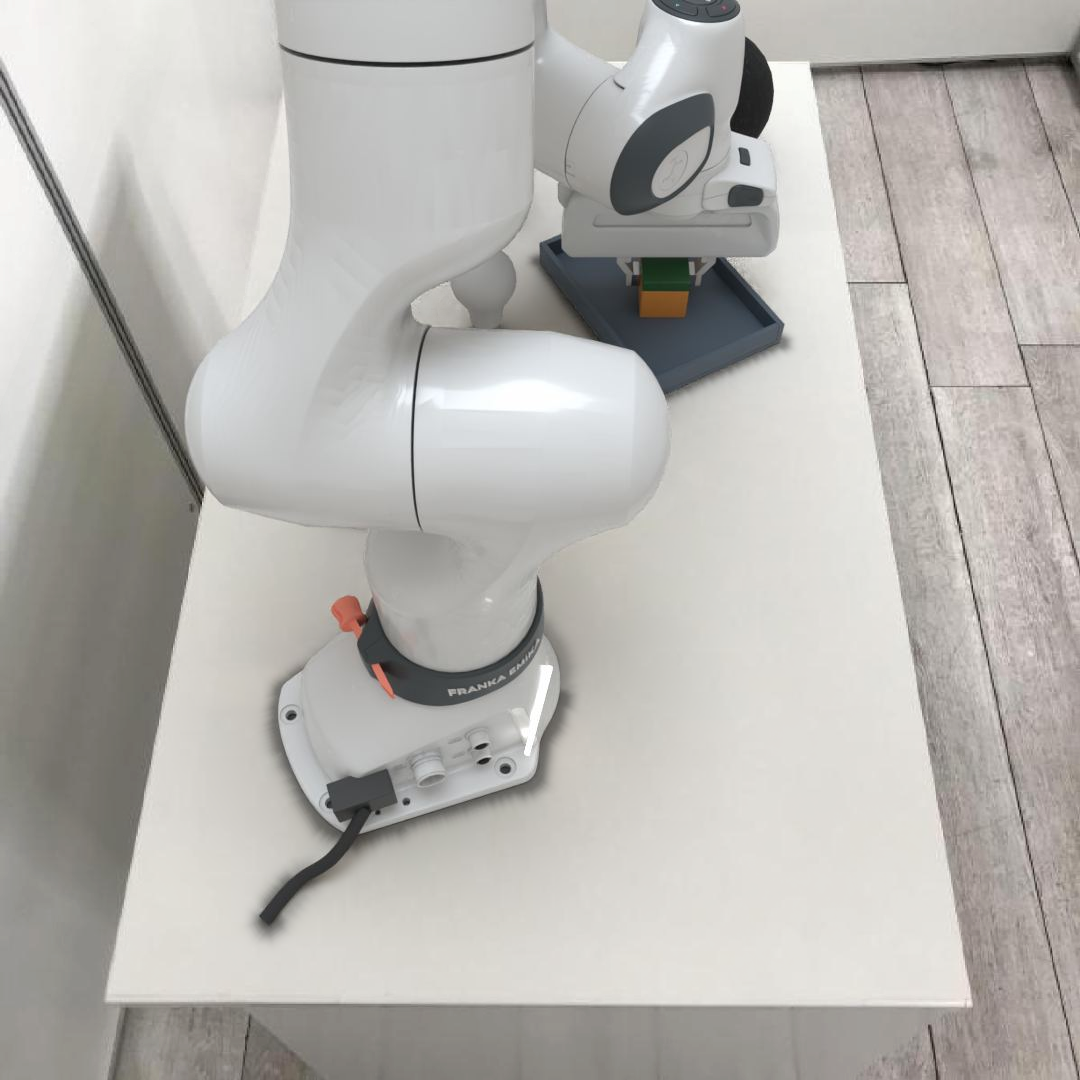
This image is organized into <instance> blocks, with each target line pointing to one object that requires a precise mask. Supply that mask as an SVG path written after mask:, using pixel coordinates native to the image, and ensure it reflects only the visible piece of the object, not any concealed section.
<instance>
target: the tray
mask: <svg viewBox="0 0 1080 1080" xmlns="http://www.w3.org/2000/svg"><path fill="white" fill-rule="evenodd" d="M561 234H562V233H560V234H558V235H555V236H552V237H550V238H547V239H545V240H543V241H540V242H539V243H538V245H539V248H538V249H539V252H538V253H539V263H540V265H542V267H543V268H544V269H545V271H546V272H547V273H548V274H549V277H551V278H552V280H553V281H554V282H555V284H556V285H557V287H558V288H559V289H560V290H561V291H562V293H563V294H564V295H565V297H566V298H567V299H568V300H569V302H570V303H571V304H572V306H573V307H574V308H575V310H576V311H577V312H578V314H579V315H580V316H581V317H582V319H583V321H585V323H586V324H587V325H588V326H589V328H590V329H591V331H592V332H593V333H594V334H595V336H596V337H597V339H598V340H599V342H602V343H606V344H610V345H614V346H618V347H622V348H625V349H629V350H633V351H635V352H636V353H637V354H638V355H639V356H640V357H641V358H642V359H643V360H644V362H645V363H646V364H647V365H648V367H649V368H650V369H651V371H652V372H653V374H654V376H655V377H656V379H657V380H658V382H659V385H660V387H661V389H662V391H663V393H664V395H667V394H669V393H671V392H673V391H675V390H677V389H680V388H682V387H684V386H686V385H689V384H691V383H693V382H696V381H697V380H700V379H702V378H704V377H706V376H708V375H711V374H713V373H715V372H718V371H719V370H722V369H723V368H726V367H728V366H730V365H733V364H735V363H737V362H739V361H741V360H744V359H746V358H749V357H751V356H752V355H755V354H758V353H759V352H761V351H764V350H765V349H768V348H770V347H772V346H775V345H778V344H779V343H780V342H781V339H782V336H783V332H784V328H785V322H783V320H781V318H780V317H779V316H778V315H777V314H776V313H775V312H774V310H773V309H772V308H771V306H769V305H768V303H766V301H765V300H764V299H763V298H762V297H761V296H760V294H759V293H757V291H756V290H755V289H754V288H753V287H752V286H751V284H749V283H748V281H747V280H746V279H745V278H744V277H743V276H742V275H741V273H740V272H739V271H738V270H737V269H736V268H735V266H734V265H733V264H731V262H730V261H729V260H728V259H727V257H716V262H715V264H714V265H713V266H712V267H710V268H709V269H708V270H707V271H706V272H705V273H704V274H703V275H702V276H701V283H700V286H690V288H689V294H688V301H687V308H686V315H685V317H684V318H668V317H640V316H639V291H638V286H626V274H625V273H624V272H623V270H622V269H621V268H620V267H619V265H618V264H617V258H616V257H570V256H568V255H567V254H566V253H565V252H564V251H563V249H562V243H561ZM696 258H697V257H688V259H689V262H694V261H695V259H696ZM631 259H632V260H633V262H638V257H631Z"/></svg>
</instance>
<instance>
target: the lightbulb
mask: <svg viewBox="0 0 1080 1080" xmlns="http://www.w3.org/2000/svg"><path fill="white" fill-rule="evenodd" d="M449 283H450V288H451V291H452V293H453V295H454V297H455V299H456V300H457V301H458V302H459V303H460V304H461V305H462V306H463V307H464V308H465V309H466V311H467V312H468V315H469V319H470V323H471V324H472V328H478V329H501V323H502V321H503V316H504V315H503V313H504V309H505V306H506V305H507V304H508V303H509V301H510V300H511V298H512V297H513V294H514V292H515V291H516V286H517V271H516V268H515V265H514V263H513V261H512V259H511V258H510V257H509V255H507V253H505V252H504V251H503V250H502V251H500V252H499V253H498V254H497V255H495V256H494V257H493V258H491V259H490V260H488V261H487V262H485V263H484V264H482V265H480V266H479V267H477V268H475V269H473V270H472V271H470V272H468V273H466V274H463V275H461V276H459V277H457V278H454V279H452V280H450V281H449Z"/></svg>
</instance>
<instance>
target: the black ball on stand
mask: <svg viewBox="0 0 1080 1080" xmlns="http://www.w3.org/2000/svg"><path fill="white" fill-rule="evenodd" d="M774 86H775V85H774V80H773V72H772V70H771V68H770V65H769V62H768V61H767V58H766V56H765V55H764V53H763V52H762V51H761V49H760V48H759V47H758V45H757V44H756V43H755V42H754V41H753V40H751V39H750V38H748V37H747V36H746V35H745V51H744V64H743V73H742V81H741V87H740V93H739V99H738V104H737V106H736V109H735V111H734V113H733V115H732V117H731V120H730V128H731V131H733V132H735V133H739V134H742V135H745V136H749V137H752V138H756V139H759V138H760V136H761V135H762V133H763V131H764V129H765V128H766V125H767V124H768V122H769V120H770V116H771V114H772V111H773V110H772V109H773V105H774V99H775V98H774V97H775V87H774Z"/></svg>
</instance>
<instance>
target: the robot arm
mask: <svg viewBox="0 0 1080 1080" xmlns="http://www.w3.org/2000/svg"><path fill="white" fill-rule="evenodd" d="M547 5H548V3H547V0H273V6H274V16H275V17H274V18H275V27H276V36H277V37H276V38H277V41H278V44H277V45H278V53H279V54H278V55H279V62H280V63H279V64H280V70H281V80H282V88H283V89H282V90H283V98H284V109H285V119H286V120H285V121H286V132H287V133H286V135H287V149H288V151H287V152H288V165H289V199H290V202H289V207H290V208H289V220H288V221H289V222H288V229H287V235H286V241H285V246H284V250H283V254H282V257H281V260H280V264H279V266H278V269H277V271H276V273H275V275H274V278H273V279H272V282H271V284H270V286H269V287H268V289H267V290H266V292H265V294H264V296H263V297H262V299H261V300H260V301H259V303H258V304H257V305H256V307H255V308H254V309H253V310H252V311H251V312H250V313H249V315H248V316H247V317H246V318H245V319H244V320H243V321H242V322H240V324H238V325H237V326H236V327H234V328H233V329H232V330H230V331H229V332H228V333H226V334H225V335H223V336H222V337H221V338H220V339H219V340H218V341H217V342H216V343H215V344H214V345H212V347H211V348H210V349H209V351H208V352H207V353H206V355H205V356H204V357H203V359H202V360H201V361H200V363H199V364H198V367H197V369H196V370H195V372H194V375H193V376H192V379H191V382H190V385H189V387H188V391H187V394H186V398H185V399H186V400H185V404H184V405H185V406H184V407H185V408H184V414H183V415H184V418H183V424H184V425H183V426H184V435H185V442H186V446H187V450H188V453H189V456H190V460H191V462H192V465H193V466H194V469H195V471H196V473H197V475H198V476H199V479H200V480H201V482H202V483H203V484H204V486H205V487H206V488H207V490H208V491H209V493H210V494H211V495H212V496H213V497H214V498H215V499H216V500H217V501H218V502H219V503H220V504H221V505H222V506H224V507H226V508H230V509H233V510H236V511H237V510H238V511H241V512H244V513H248V514H251V515H255V516H259V517H263V518H267V519H272V520H276V521H280V522H285V523H288V524H289V523H290V524H293V525H298V526H302V527H308V528H309V527H310V528H329V529H330V528H332V529H333V528H334V529H351V530H352V529H353V530H355V529H356V530H368V531H367V534H366V535H365V536H366V537H365V539H364V546H363V555H362V556H363V557H362V558H363V559H362V560H363V567H364V573H365V577H366V581H367V584H368V587H369V590H370V593H371V597H370V601H369V603H368V606H367V608H365V610H364V611H363V610H362V608H361V604H360V602H359V599H358V598H357V596H356V595H345V596H342V597H340V598H338V599H337V600H335V601H334V602H333V604H332V605H331V606H330V612H331V614H332V615H333V617H334V618H335V620H336V621H337V622H338V625H339V629H340V632H338V634H337V635H335V636H334V637H333V638H332V639H330V641H328V642H327V643H326V644H325V645H324V646H323V647H321V649H319V650H318V651H317V652H316V653H315V654H313V656H311V658H309V660H307V662H306V664H305V665H304V666H303V669H302V670H300V671H299V672H298V673H296V674H295V675H294V676H292V677H291V678H290V679H288V680H287V681H285V682H284V684H283V685H282V686H281V690H280V694H279V698H278V707H277V718H278V725H279V726H278V727H279V733H280V737H281V741H282V744H283V748H284V752H285V754H286V757H287V759H288V762H289V765H290V767H291V770H292V772H293V774H294V776H295V778H296V780H297V782H298V785H299V786H300V788H301V790H302V791H303V793H304V795H305V797H306V798H307V799H308V801H309V803H310V804H311V805H312V807H313V808H314V809H315V810H316V812H317V813H318V814H319V815H320V816H321V817H322V818H323V820H325V821H326V822H327V823H329V824H330V825H331V826H332V827H334V828H336V829H337V830H339V831H340V832H342V835H341V836H340V838H338V840H337V842H336V843H335V845H333V846H332V848H331V849H330V850H329V851H328V852H327V853H326V854H325V855H324V856H323V857H321V858H319V859H318V860H316V861H315V862H314V863H311V864H310V865H308V866H306V867H305V868H302V869H301V870H300V871H298V872H297V873H296V874H294V875H293V876H292V877H291V878H290V879H289V880H288V881H287V882H286V883H285V884H284V885H283V886H282V887H281V888H280V890H278V891H277V892H276V894H275V895H274V897H273V898H272V899H271V900H270V901H269V903H268V904H267V905H266V906H265V907H264V909H263V910H262V911H261V912H260V913H259V915H258V917H259V918H260V919H261V920H262V921H263V922H265V923H266V924H267V925H270V924H271V923H272V922H273V920H275V919H276V917H277V915H278V914H279V913H280V912H281V910H282V909H283V908H284V906H286V905H287V903H288V902H289V901H290V899H291V898H292V897H293V896H294V895H295V894H297V892H298V891H299V890H300V889H302V887H304V886H305V885H306V884H307V883H308V882H310V881H312V880H314V879H315V878H317V877H319V876H321V875H323V874H324V873H326V872H327V871H329V870H330V869H332V868H333V867H334V866H335V865H336V864H337V863H339V862H340V860H342V859H343V857H344V856H345V855H346V854H347V853H348V851H349V850H350V848H351V847H352V846H353V844H354V842H355V841H356V840H357V837H358V836H359V835H361V834H365V833H368V832H371V831H374V830H378V829H381V828H384V827H388V826H390V825H394V824H398V823H401V822H403V821H406V820H410V819H413V818H416V817H419V816H422V815H426V814H429V813H432V812H435V811H439V810H443V809H445V808H448V807H452V806H454V805H458V804H461V803H464V802H466V801H471V800H474V799H477V798H480V797H483V796H486V795H489V794H493V793H496V792H499V791H502V790H505V789H509V788H512V787H515V786H518V785H521V784H524V783H525V784H526V783H527V782H528V781H530V780H531V779H532V778H533V777H534V776H535V774H536V772H537V769H538V763H539V756H540V742H541V740H542V737H543V735H544V733H545V731H546V729H547V727H548V725H549V724H550V722H551V720H552V718H553V716H554V714H555V711H556V709H557V705H558V703H559V698H560V694H561V693H560V692H561V669H560V665H559V659H558V657H557V654H556V653H555V650H554V648H553V645H552V644H551V642H550V640H549V639H548V638H547V636H546V635H545V633H544V630H545V597H544V592H543V587H542V583H541V580H540V577H539V574H538V572H539V567H541V565H543V564H544V563H545V562H546V561H548V560H549V559H550V558H552V557H553V556H554V555H556V554H557V553H559V552H561V551H562V550H564V549H566V548H568V547H569V546H572V545H574V544H575V543H578V542H580V541H583V540H585V539H588V538H590V537H593V536H596V535H599V534H602V533H605V532H608V531H609V532H610V531H612V530H615V529H616V530H617V529H620V528H623V527H626V526H628V525H629V524H630V523H631V522H633V521H634V520H635V519H636V518H637V517H638V516H639V515H640V514H641V513H642V512H643V511H644V510H645V509H646V507H647V506H648V504H649V503H650V502H651V500H652V499H653V497H654V496H655V494H656V492H657V491H658V490H659V487H660V485H661V483H662V481H663V478H664V476H665V473H666V470H667V468H668V464H669V460H670V455H671V449H672V448H671V447H672V424H671V423H672V422H671V415H670V411H669V405H668V402H667V399H666V396H665V394H664V393H663V391H662V389H661V387H660V385H659V382H658V380H657V379H656V377H655V376H654V374H653V372H652V371H651V369H650V368H649V367H648V365H647V364H646V363H645V362H644V360H643V359H642V358H641V357H640V356H639V355H638V354H637V353H636V352H635V351H633V350H629V349H625V348H622V347H618V346H614V345H610V344H606V343H602V342H601V341H598V340H593V339H589V338H585V337H582V336H581V337H580V336H577V335H571V334H567V333H562V332H559V331H553V330H535V329H534V330H533V329H532V330H531V329H508V328H507V329H506V328H505V329H503V328H500V329H478V328H474V327H449V326H447V327H445V326H444V327H443V326H433V325H431V324H425V323H422V322H419V321H417V319H415V318H414V317H415V316H414V315H413V311H412V303H413V302H414V301H416V300H417V299H418V298H419V297H421V296H422V295H424V294H425V293H427V292H429V291H430V290H433V289H435V288H436V287H438V286H440V285H443V284H445V283H447V282H450V280H452V279H454V278H457V277H459V276H461V275H463V274H466V273H468V272H470V271H472V270H473V269H475V268H477V267H479V266H480V265H482V264H484V263H485V262H487V261H488V260H490V259H491V258H493V257H494V256H495V255H497V254H498V253H499V252H500V251H503V250H504V249H506V247H508V245H510V243H511V242H513V240H514V239H515V238H516V236H517V235H518V234H519V233H520V230H521V229H522V228H523V226H524V224H525V222H526V220H527V219H528V218H527V217H528V216H529V213H530V211H531V208H532V204H533V200H534V194H535V183H534V182H535V170H537V171H538V172H540V173H542V174H544V175H546V176H548V177H549V178H551V179H552V180H554V181H556V182H557V200H558V201H559V203H560V205H561V206H562V210H563V211H562V216H561V233H560V234H561V243H562V249H563V251H564V252H565V253H566V254H567V255H568V256H570V257H616V258H617V264H618V265H619V267H620V268H621V269H622V270H623V272H624V273H625V274H626V286H640V280H641V262H633V260H632V259H631V257H697V258H696V259H695V261H694V262H689V272H690V286H700V283H701V276H702V275H703V274H704V273H705V272H706V271H707V270H708V269H709V268H710V267H712V266H713V265H714V264H715V262H716V257H725V258H767V257H768V256H770V255H771V254H772V253H773V252H775V251H776V250H777V247H778V243H779V238H780V228H781V227H780V226H781V224H780V223H781V217H780V215H781V214H780V207H779V199H778V193H777V188H778V179H777V178H778V177H777V169H776V162H775V159H774V155H773V152H772V149H771V146H770V144H769V143H768V142H767V141H765V140H763V139H760V138H757V139H756V138H752V137H749V136H745V135H742V134H739V133H735V132H733V131H731V128H730V120H731V117H732V115H733V113H734V111H735V109H736V106H737V104H738V99H739V93H740V87H741V81H742V73H743V64H744V51H745V36H746V24H745V15H744V12H743V9H742V7H741V5H740V3H739V2H738V0H645V1H644V4H643V8H642V11H641V16H640V20H639V26H638V31H637V36H636V44H635V49H634V51H633V52H632V54H631V55H630V57H629V59H628V60H627V62H626V63H625V64H624V65H623V67H622V68H619V67H617V66H616V65H613V64H612V63H609V62H608V61H606V60H604V59H602V58H600V57H598V56H596V55H595V54H592V53H591V52H588V51H587V50H584V49H582V48H581V47H579V46H577V45H576V44H574V43H573V42H571V41H570V40H568V39H567V38H566V37H564V36H563V35H562V34H561V33H559V31H557V30H556V29H555V28H554V27H553V26H552V25H551V23H550V22H549V20H548V8H547V7H548V6H547ZM292 714H295V715H296V716H295V718H294V719H291V720H290V719H288V718H289V716H290V715H292ZM504 767H508V768H510V771H509V772H508V773H503V772H501V769H502V768H504ZM406 802H409V804H406ZM329 803H330V805H331V807H330V808H329V807H328V804H329Z"/></svg>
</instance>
